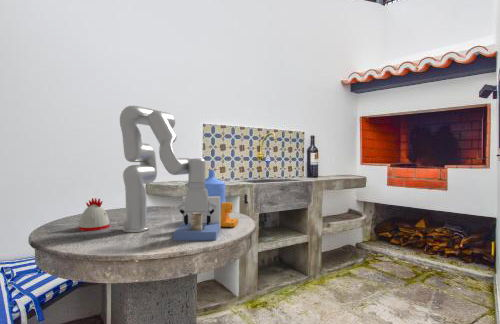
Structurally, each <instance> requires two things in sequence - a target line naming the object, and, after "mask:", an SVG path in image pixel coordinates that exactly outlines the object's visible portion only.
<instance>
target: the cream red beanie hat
mask: <svg viewBox="0 0 500 324" xmlns="http://www.w3.org/2000/svg"><path fill="white" fill-rule="evenodd" d="M85 204H86V206H87V207H86V209H84V211H83V212H82V214H81V217H80V219H79V222H78V231H82V232H91V231H94V232H95V231H101V230H105V229H106V230H107V229H108V228H110V227H111V225H110V224H111V223H110V218H109V216H108V214H107V211H106V210H105V209H104V208H103V207H102V205H103V200H101V199H100V198H98V199H97V197H95V198H91V200H88V202H85Z"/></svg>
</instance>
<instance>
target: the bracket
mask: <svg viewBox="0 0 500 324" xmlns="http://www.w3.org/2000/svg"><path fill="white" fill-rule="evenodd" d="M233 209H234V206H233V202H230V201H229V202H227V201H225V202H222V205H221V214H220V228H221V227H222V228H236V226H238V224H239V218H233V217H232V218H231V217H230V214H232V213H233Z"/></svg>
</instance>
